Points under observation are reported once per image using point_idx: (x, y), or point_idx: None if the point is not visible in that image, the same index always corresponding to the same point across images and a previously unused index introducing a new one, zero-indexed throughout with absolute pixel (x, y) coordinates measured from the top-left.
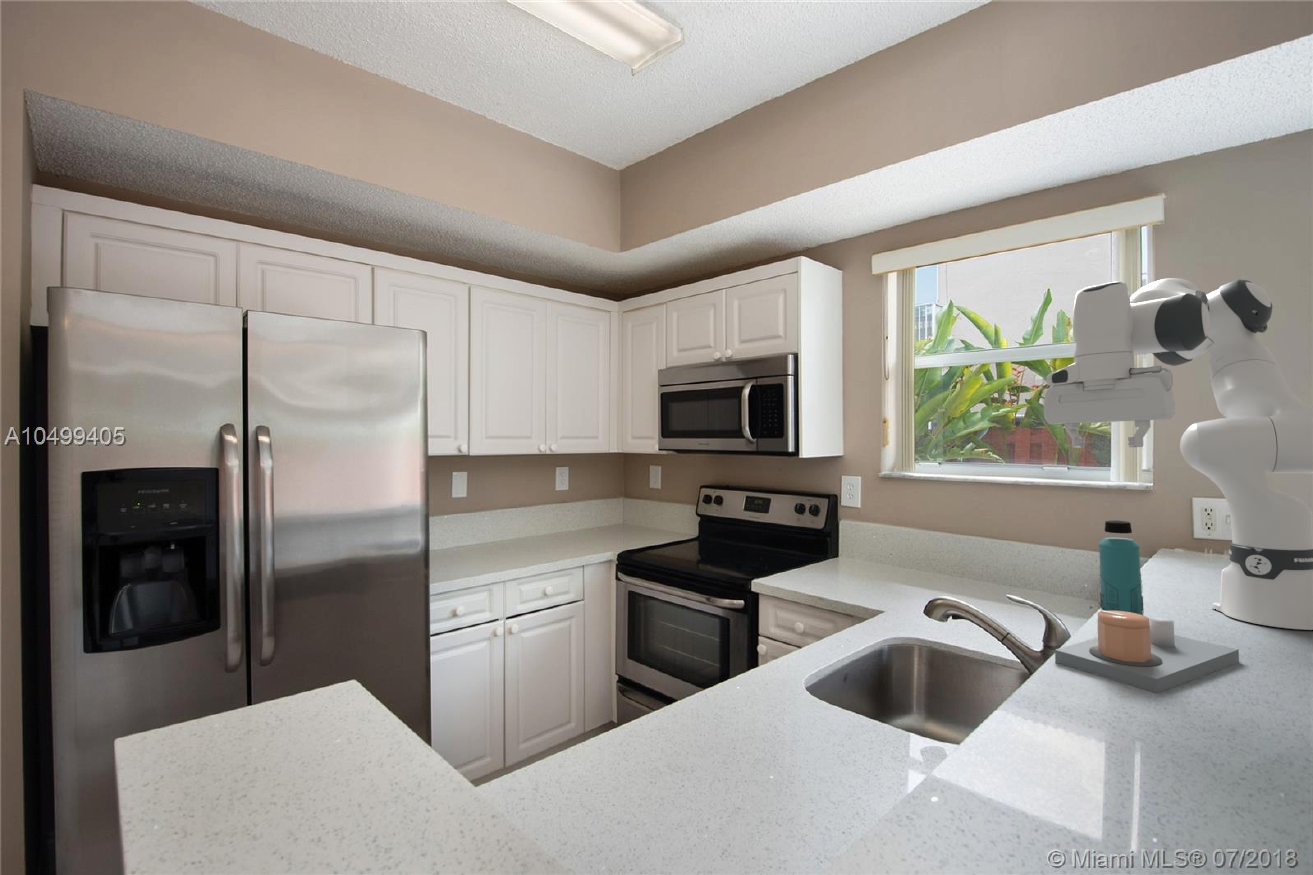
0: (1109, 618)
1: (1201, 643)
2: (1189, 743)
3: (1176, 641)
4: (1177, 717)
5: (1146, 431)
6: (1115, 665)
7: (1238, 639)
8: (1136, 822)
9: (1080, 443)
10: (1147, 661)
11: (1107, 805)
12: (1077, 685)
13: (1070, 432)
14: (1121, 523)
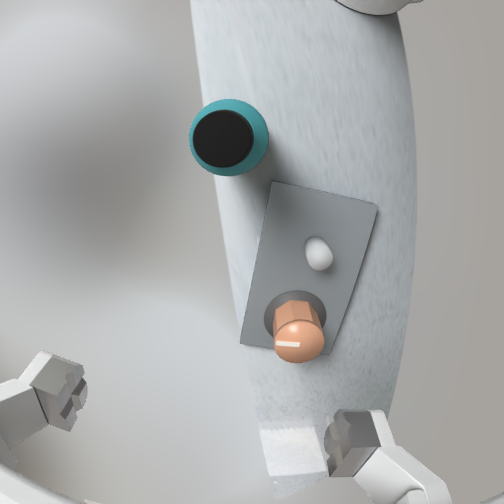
0: (290, 361)
1: (346, 209)
2: (349, 402)
3: (324, 222)
4: (342, 377)
5: (418, 470)
6: None
7: (359, 96)
8: None
9: (78, 405)
10: None
11: (325, 459)
12: (275, 371)
13: (17, 440)
14: (237, 161)
